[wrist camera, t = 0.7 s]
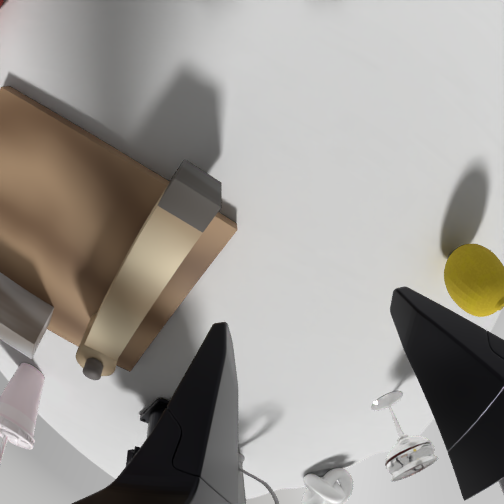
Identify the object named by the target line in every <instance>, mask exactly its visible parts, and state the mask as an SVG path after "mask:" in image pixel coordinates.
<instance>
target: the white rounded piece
mask: <svg viewBox="0 0 504 504" xmlns="http://www.w3.org/2000/svg"><path fill="white" fill-rule="evenodd" d="M303 480H304V484H305V485H306V486H307V489H306V491H305V492H304V495H303V498H302V504H344V503H345V502H346V501H347V500H348V499H349V497H350V495H351V493H352V490H353V480H352V477H351V475H350V473H349V472H348V471H347V470H345V469H343V468H334V469H332V470H330V471H329V472H327V473H326V474H325V475H324V476H322V477H318V476H317V475H315V474H307V475H306V476H305V477H304V479H303ZM337 480H338V481H339V483H340V485H339V484H338V482H337Z"/></svg>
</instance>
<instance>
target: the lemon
mask: <svg viewBox="0 0 504 504" xmlns="http://www.w3.org/2000/svg"><path fill="white" fill-rule="evenodd" d="M444 281H445V285H446V288H447V291H448V293H449V295H450V296H451V298H452V299H453V300H454V301H455V303H456V304H457V305H458V306H459V307H460V308H462V309H463V310H464V311H466V312H467V313H469V314H471V315H474V316H478V317H483V316H488V315H491V314H493V313H495V312H496V311H497V310H501V309H502V308H503V307H504V266H503V265H502V263H501V262H500V260H499V259H498V258H497V257H496V255H495V254H494V253H493V252H491V251H490V250H489V249H487V248H485V247H483V246H481V245H478V244H465V245H462V246H460V247H458V248H457V249H456V250H454V251H453V252H452V253H451V254H450V256H449V258H448V260H447V262H446V265H445V270H444Z"/></svg>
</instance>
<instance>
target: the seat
mask: <svg viewBox="0 0 504 504" xmlns="http://www.w3.org/2000/svg"><path fill="white" fill-rule="evenodd" d="M168 184H169V181H168V180H166V179H165V178H163V177H161V176H160V175H158V174H156V173H155V172H153V171H151V170H150V169H148V168H147V167H145V166H143V165H142V164H140V163H138V162H137V161H135V160H133V159H132V158H130V157H129V156H127V155H125V154H124V153H122V152H120V151H119V150H117V149H115V148H114V147H112V146H110V145H109V144H107V143H105V142H104V141H102V140H100V139H99V138H97V137H95V136H94V135H92V134H90V133H89V132H87V131H85V130H84V129H82V128H80V127H79V126H77V125H75V124H74V123H72V122H70V121H68V120H67V119H65V118H63V117H62V116H60V115H58V114H57V113H55V112H53V111H51V110H50V109H48V108H46V107H45V106H43V105H41V104H40V103H38V102H36V101H34V100H33V99H31V98H29V97H27V96H26V95H24V94H22V93H21V92H19V91H17V90H15V89H14V88H12V87H10V86H6V87H1V89H0V339H1V340H2V341H4V342H5V343H7V344H8V345H10V346H11V347H13V348H14V349H16V350H17V351H19V352H21V353H22V354H24V355H25V356H27V357H29V358H30V359H32V358H33V355H34V353H35V351H36V349H37V347H38V345H39V343H40V341H41V339H42V337H43V335H44V333H45V331H46V329H48V330H50V331H52V332H53V333H55V334H57V335H58V336H60V337H62V338H64V339H66V340H67V341H69V342H71V343H73V344H75V345H77V346H78V347H79V345H80V343H81V340H82V338H83V335H84V333H85V330H86V328H87V326H88V323H89V321H90V319H91V317H92V315H94V314H95V313H97V312H98V310H99V308H100V306H101V304H102V302H103V299H104V297H105V295H106V293H107V291H108V289H109V287H110V285H111V283H112V281H113V280H114V278H115V276H116V274H117V272H118V270H119V268H120V266H121V264H122V262H123V260H124V259H125V257H126V255H127V253H128V251H129V249H130V248H131V246H132V244H133V242H134V240H135V239H136V237H137V235H138V233H139V232H140V230H141V228H142V226H143V225H144V223H145V221H146V220H147V218H148V216H149V215H150V213H151V211H152V210H153V208H154V206H155V205H156V203H157V201H158V200H159V198H160V196H161V195H162V193H163V192H164V190H165V188H166V187H167V185H168ZM236 231H237V223H235V222H234V221H232V220H230V219H229V218H227V217H226V216H224V215H222V214H221V213H219V212H218V213H217V214H216V216H215V217H214V218H213V220H212V221H211V222H210V224H209V225H208V226H207V228H206V229H205V231H204V232H203V233H202V235H201V236H200V238H199V239H198V240H197V242H196V243H195V244H194V246H193V247H192V249H191V250H190V252H189V253H188V254H187V256H186V257H185V259H184V260H183V261H182V263H181V264H180V266H179V267H178V269H177V270H176V271H175V273H174V274H173V276H172V277H171V279H170V280H169V282H168V283H167V285H166V286H165V287H164V289H163V290H162V292H161V293H160V295H159V296H158V298H157V299H156V301H155V302H154V304H153V305H152V307H151V308H150V310H149V311H148V313H147V314H146V316H145V317H144V319H143V320H142V322H141V323H140V325H139V326H138V328H137V330H136V331H135V333H134V334H133V336H132V337H131V339H130V340H129V342H128V343H127V345H126V347H125V348H124V350H123V351H122V353H121V355H120V356H119V358H118V361H117V364H116V365H117V366H119V367H121V368H123V369H126V370H128V371H131V370H132V369H133V367H134V366H135V364H136V363H137V362H138V360H139V359H140V358H141V356H142V355H143V353H144V352H145V351H146V349H147V348H148V347H149V345H150V344H151V343H152V341H153V340H154V339H155V337H156V336H157V334H158V333H159V332H160V330H161V329H162V328H163V326H164V325H165V324H166V322H167V321H168V320H169V318H170V317H171V316H172V314H173V313H174V312H175V310H176V309H177V308H178V306H179V305H180V304H181V302H182V301H183V300H184V298H185V297H186V296H187V294H188V293H189V292H190V291H191V289H192V288H193V287H194V285H195V284H196V283H197V281H198V280H199V279H200V277H201V276H202V275H203V274H204V272H205V271H206V270H207V268H208V267H209V266H210V264H211V263H212V262H213V261H214V259H215V258H216V257H217V255H218V254H219V253H220V251H221V250H222V249H223V248H224V246H225V245H226V244H227V242H228V241H229V240H230V239H231V237H232V236H233V235H234V234H235V232H236ZM103 367H104V366H103V364H102V363H101V362H100V361H99V360H97V359H95V358H88V359H87V360H86V363H85V366H84V368H83V373H84V375H85V376H86V377H88V378H90V379H92V380H99V379H100V378H101V374H102V371H103Z"/></svg>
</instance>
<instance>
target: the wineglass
mask: <svg viewBox="0 0 504 504" xmlns="http://www.w3.org/2000/svg"><path fill="white" fill-rule="evenodd" d="M402 395H403V393H402V392H401V391H395V392H391V393H388V394H386V395H384V396H382V397H381V398H379V399H378V400H377V401H375V402H374V404H373V405H372V407H371V408H372V410H374V411H379V410H383V409H386V408H389V410H390V413H391V416H392V419H393V421H394V424H395V427H396V430H397V433H398V436H399V438H398V440H397V443H396V444H395V445H394V446H393V447H392V448H391V450H390V452H389V454H388V456H387V458H386V464H385V465H386V469H387V470H388V472H389V473H390V474H392V479H391V481H398V480H401V479H404V478H407V477H409V476H411V475H413V474H416V473H417V472H420V471H421V470H423V469H425V468H427V467H428V466H430V465H431V464H433V463H434V462H435V461H437V460H438V457H437V456H435V455H434V445H433V444H432V442H431V441H430V440H429V439H427V438H424V437H421V436H409V437H408V435H404V433H403V431H402V429H401V426H400V424H399V422H398V420H397V418H396V416H395V414H394V412H393V410H392V408H391V406H392V405H394V404H395V403H397V402H398V401H399V400H400V399H401V398H402Z"/></svg>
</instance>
